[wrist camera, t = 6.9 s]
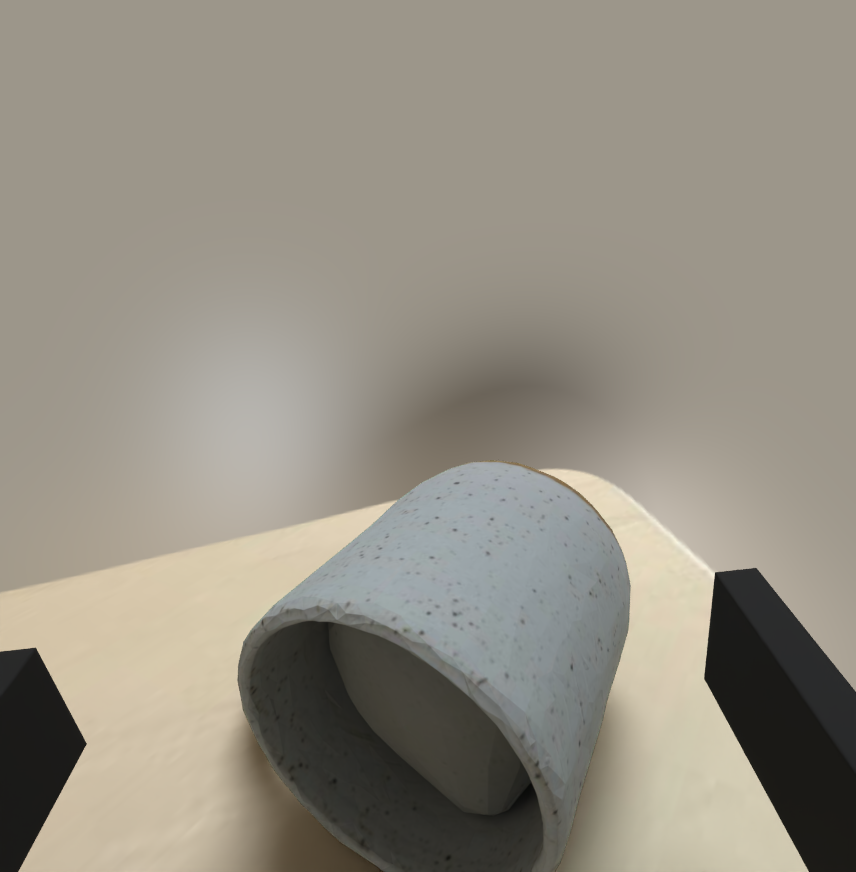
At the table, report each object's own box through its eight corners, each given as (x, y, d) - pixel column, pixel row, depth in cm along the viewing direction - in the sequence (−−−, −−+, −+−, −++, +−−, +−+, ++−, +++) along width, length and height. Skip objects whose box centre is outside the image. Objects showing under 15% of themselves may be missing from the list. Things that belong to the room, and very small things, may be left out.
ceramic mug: (641, 668, 19) (645, 439, 15) (568, 970, 12) (547, 688, 9) (350, 595, 23) (306, 410, 20) (188, 785, 17) (86, 559, 14)
